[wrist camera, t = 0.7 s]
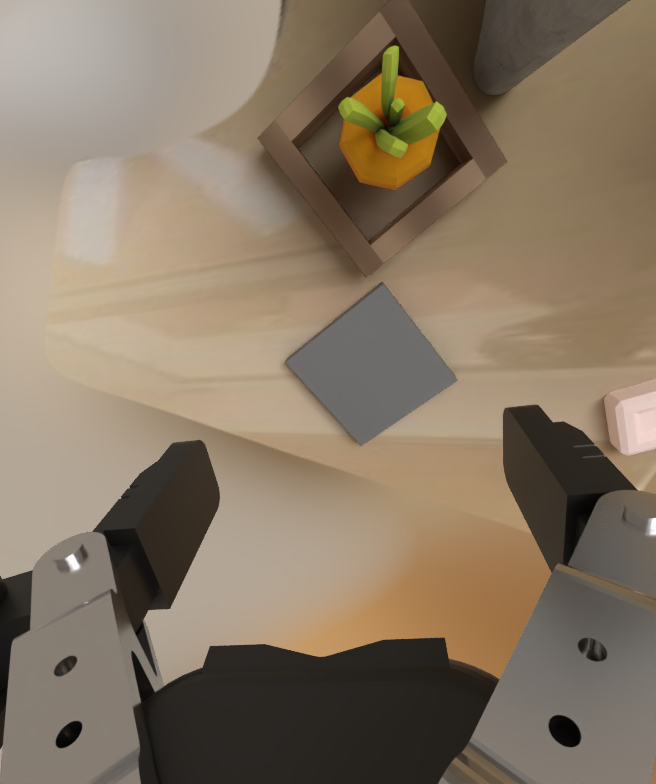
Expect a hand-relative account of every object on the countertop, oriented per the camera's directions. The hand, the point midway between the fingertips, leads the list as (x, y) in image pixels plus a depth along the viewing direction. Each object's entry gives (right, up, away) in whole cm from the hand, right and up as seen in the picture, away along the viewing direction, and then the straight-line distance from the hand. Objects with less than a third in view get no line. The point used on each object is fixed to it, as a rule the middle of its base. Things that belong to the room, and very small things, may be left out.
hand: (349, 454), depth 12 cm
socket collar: (+3, +18, +18) cm, 26 cm away
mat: (+3, +4, +25) cm, 25 cm away
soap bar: (+28, +1, +25) cm, 37 cm away
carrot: (+3, +18, +19) cm, 26 cm away
